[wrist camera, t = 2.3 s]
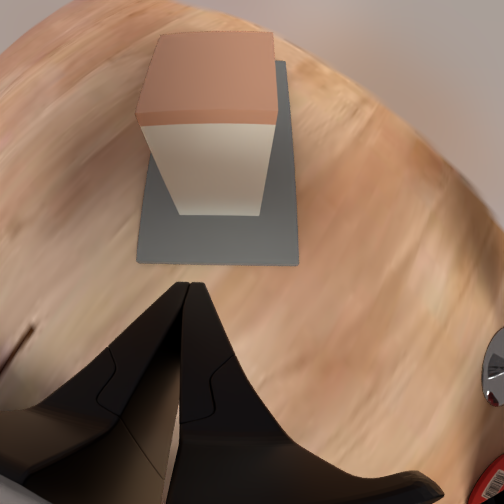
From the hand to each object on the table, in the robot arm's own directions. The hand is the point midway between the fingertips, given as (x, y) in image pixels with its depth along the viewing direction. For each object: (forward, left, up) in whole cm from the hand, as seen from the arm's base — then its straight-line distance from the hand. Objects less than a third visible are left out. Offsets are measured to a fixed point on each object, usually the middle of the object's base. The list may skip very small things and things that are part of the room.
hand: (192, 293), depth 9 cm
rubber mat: (+9, +8, -10) cm, 15 cm away
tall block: (+7, +5, -9) cm, 12 cm away
